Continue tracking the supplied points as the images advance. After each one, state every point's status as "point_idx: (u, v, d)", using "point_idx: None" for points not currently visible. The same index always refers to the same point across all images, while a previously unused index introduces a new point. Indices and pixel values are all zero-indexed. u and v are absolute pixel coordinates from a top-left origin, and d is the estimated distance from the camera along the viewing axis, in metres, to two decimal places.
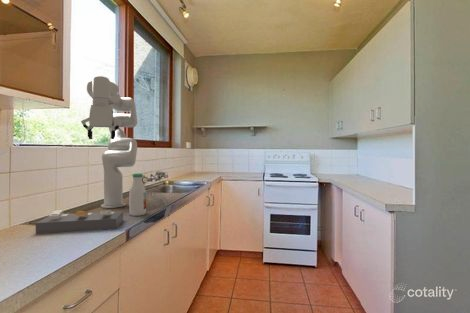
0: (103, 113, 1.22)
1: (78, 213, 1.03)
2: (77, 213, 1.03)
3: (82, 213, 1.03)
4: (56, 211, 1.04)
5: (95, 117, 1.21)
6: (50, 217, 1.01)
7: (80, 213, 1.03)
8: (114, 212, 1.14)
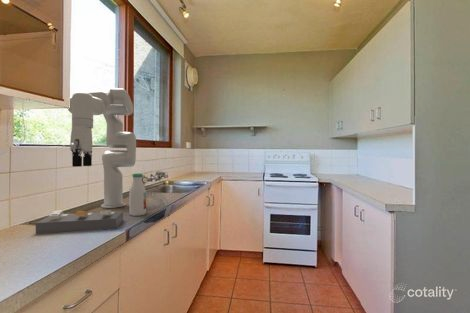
0: (90, 137, 1.07)
1: (78, 213, 1.03)
2: (77, 213, 1.03)
3: (82, 213, 1.03)
4: (56, 211, 1.04)
5: (86, 141, 1.04)
6: (50, 217, 1.01)
7: (80, 213, 1.03)
8: (114, 212, 1.14)
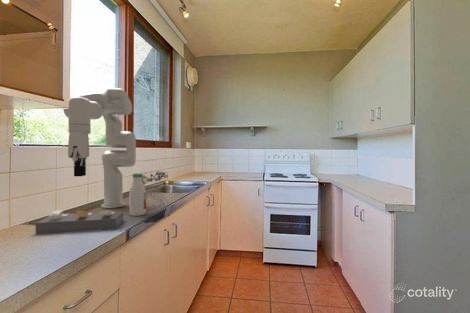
0: (87, 143, 1.05)
1: (78, 213, 1.03)
2: (77, 213, 1.03)
3: (82, 213, 1.03)
4: (56, 211, 1.04)
5: (84, 148, 1.02)
6: (50, 217, 1.01)
7: (80, 213, 1.03)
8: (114, 212, 1.14)
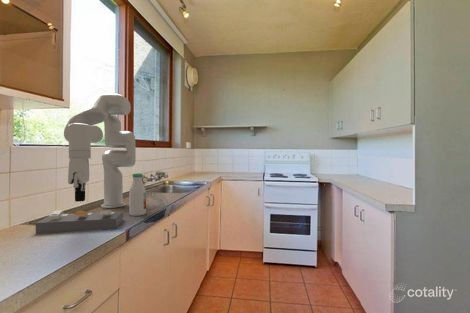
0: (87, 167, 1.05)
1: (78, 213, 1.03)
2: (77, 213, 1.03)
3: (82, 213, 1.03)
4: (56, 211, 1.04)
5: (84, 173, 1.02)
6: (50, 217, 1.01)
7: (80, 213, 1.03)
8: (114, 212, 1.14)
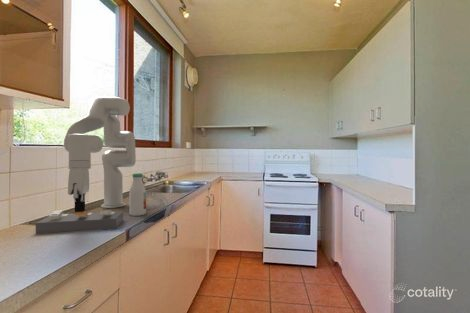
0: (87, 178, 1.05)
1: (78, 213, 1.03)
2: (77, 213, 1.03)
3: (82, 213, 1.03)
4: (56, 211, 1.04)
5: (84, 184, 1.02)
6: (50, 217, 1.01)
7: (80, 213, 1.03)
8: (114, 212, 1.14)
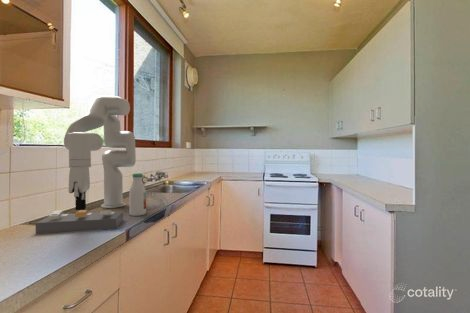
0: (88, 176, 1.06)
1: (78, 214, 1.03)
2: (77, 214, 1.03)
3: (82, 214, 1.03)
4: (56, 211, 1.04)
5: (84, 182, 1.02)
6: (50, 217, 1.01)
7: (80, 214, 1.03)
8: (114, 212, 1.14)
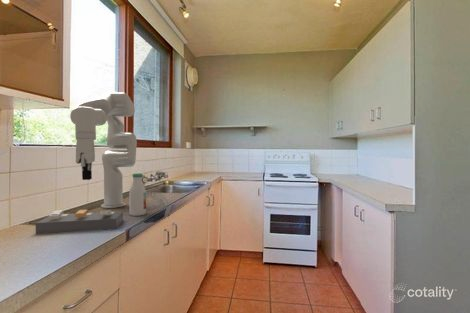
0: (93, 148, 1.13)
1: (78, 215, 1.03)
2: (77, 215, 1.03)
3: (82, 215, 1.03)
4: (56, 211, 1.04)
5: (90, 154, 1.10)
6: (50, 217, 1.01)
7: (80, 215, 1.03)
8: (114, 212, 1.14)
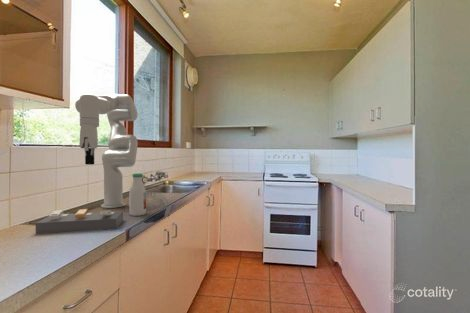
0: (96, 135, 1.18)
1: (78, 216, 1.03)
2: (77, 216, 1.03)
3: (82, 216, 1.03)
4: (56, 211, 1.04)
5: (93, 139, 1.14)
6: (50, 217, 1.01)
7: (80, 216, 1.03)
8: (114, 212, 1.14)
